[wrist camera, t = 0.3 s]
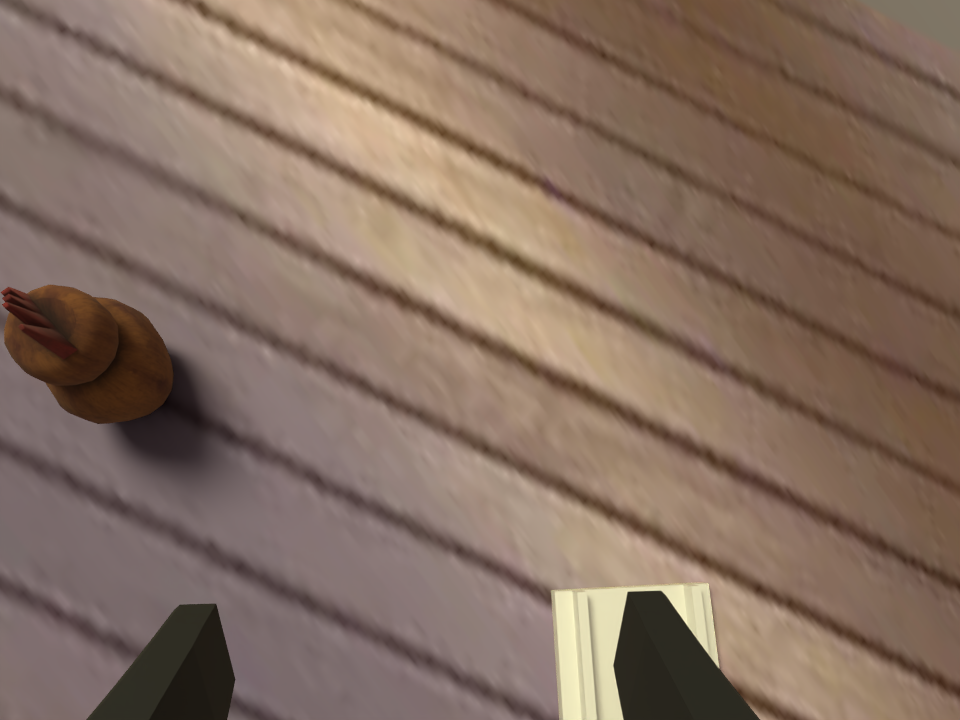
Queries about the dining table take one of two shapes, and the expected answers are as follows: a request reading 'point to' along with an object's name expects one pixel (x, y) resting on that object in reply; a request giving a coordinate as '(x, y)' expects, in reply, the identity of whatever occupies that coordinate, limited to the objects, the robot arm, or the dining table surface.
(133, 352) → the wooden figurine
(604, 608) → the track
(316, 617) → the dining table surface
